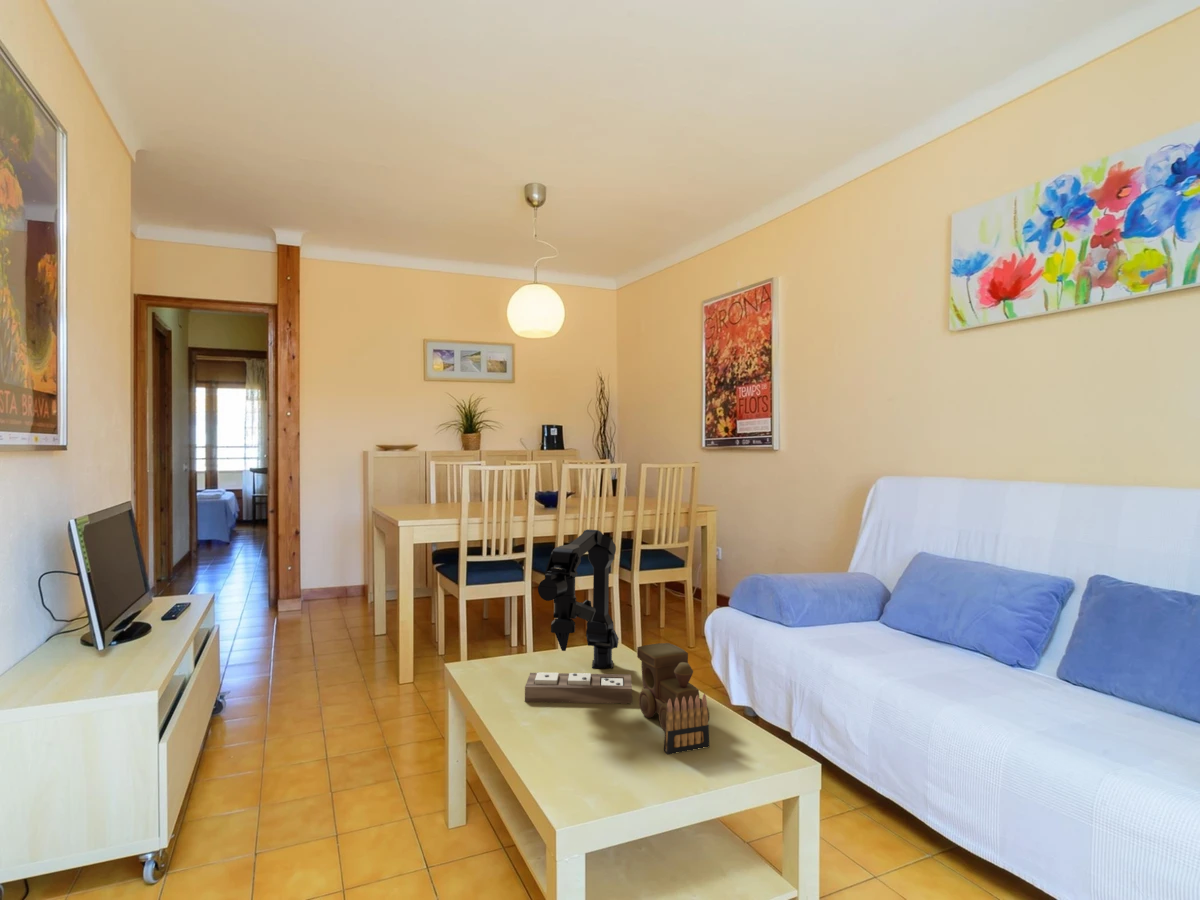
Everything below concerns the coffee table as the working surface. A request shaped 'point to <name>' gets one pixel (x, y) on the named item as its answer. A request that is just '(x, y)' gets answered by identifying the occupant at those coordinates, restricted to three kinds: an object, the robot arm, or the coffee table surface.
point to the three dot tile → (612, 681)
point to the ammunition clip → (686, 726)
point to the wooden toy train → (665, 679)
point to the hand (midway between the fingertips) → (563, 650)
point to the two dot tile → (579, 679)
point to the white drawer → (546, 678)
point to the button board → (580, 690)
